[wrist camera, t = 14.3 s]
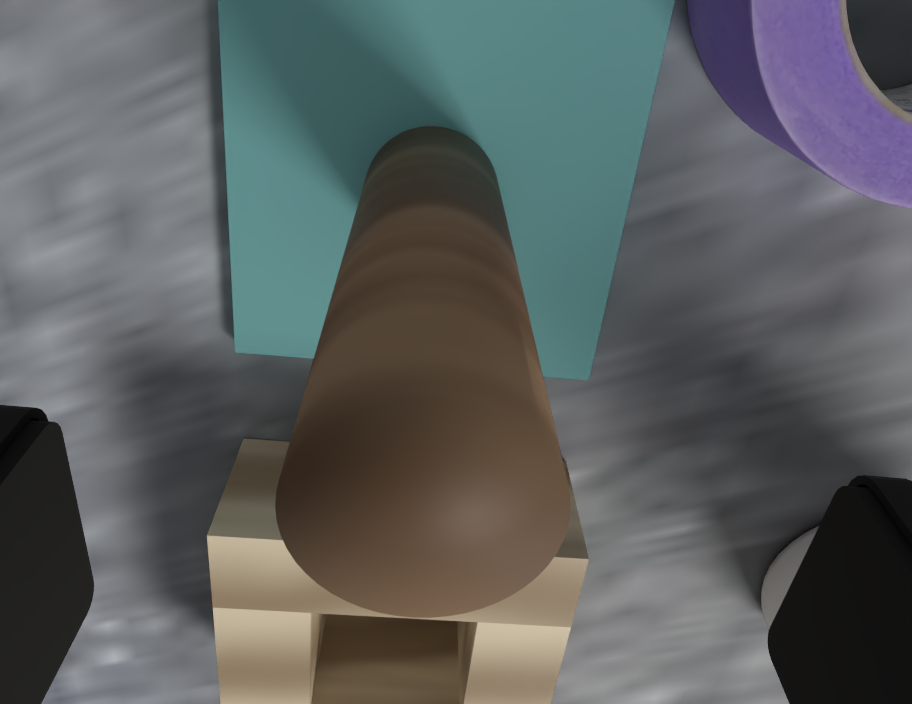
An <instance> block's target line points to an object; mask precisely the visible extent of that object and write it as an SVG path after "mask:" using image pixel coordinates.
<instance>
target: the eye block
mask: <svg viewBox="0 0 912 704" xmlns="http://www.w3.org/2000/svg"><path fill="white" fill-rule="evenodd" d="M289 443H290V442H286V441H272V440H258V439H243V441H242V444H241V446H240V449H239V452H238V454H237V457H236V460H235V462H234V465H233V468H232V470H231V473H230V476H229V478H228V481H227V484H226V486H225V489H224V491H223V494H222V497H221V499H220V502H219V505H218V507H217V510H216V513H215V515H214V518H213V521H212V523H211V526H210V528H209V531H208V534H207V544H208V556H209V568H210V580H211V592H212V604H213V616H214V629H215V641H216V653H217V665H218V677H219V689H220V701H221V704H551V701H552V697H553V694H554V690H555V686H556V682H557V678H558V675H559V671H560V667H561V663H562V659H563V656H564V652H565V648H566V644H567V640H568V637H569V633H570V629H571V625H572V621H573V618H574V614H575V610H576V606H577V603H578V599H579V595H580V591H581V587H582V584H583V580H584V576H585V572H586V568H587V565H588V561H589V557H588V553H587V549H586V545H585V540H584V536H583V532H582V528H581V523H580V519H579V515H578V511H577V507H576V502H575V498H574V494H573V490H572V485H571V481H570V477H569V473H568V468H567V464H566V461H563V464H564V469H565V473H566V477H567V481H568V487H569V492H570V502H571V512H570V519H569V526H568V529H567V532H566V535H565V538H564V540H563V542H562V544H561V546H560V548H559V550H558V552H557V554H556V555H555V557H554V558H553V559H552V561H551V562H550V564H549V565H548V566H547V567H546V568H545V569H544V570H543V571H542V573H541V574H540V575H539V576H538V577H537V578H535V579H534V580H533V581H532V582H530V583H529V584H528V585H527V586H526V587H524V588H523V589H521V590H520V591H518V592H516V593H515V594H513V595H512V596H510V597H508V598H506V599H504V600H502V601H500V602H498V603H495V604H493V605H490V606H488V607H485V608H482V609H479V610H475V611H472V612H468V613H464V614H458V615H453V616H446V617H433V618H412V617H402V616H394V615H389V614H384V613H378V612H375V611H372V610H368V609H365V608H362V607H359V606H357V605H354V604H352V603H349V602H347V601H345V600H343V599H341V598H339V597H337V596H335V595H333V594H332V593H330V592H329V591H327V590H326V589H324V588H323V587H321V586H320V585H318V584H317V583H316V582H315V581H314V580H313V579H311V578H310V577H309V576H308V575H307V574H306V573H305V572H304V571H303V570H302V569H301V568H300V566H299V565H298V564H297V563H296V562H295V560H294V559H293V557H292V556H291V554H290V553H289V551H288V550H287V548H286V546H285V544H284V542H283V539H282V537H281V535H280V531H279V528H278V524H277V520H276V510H275V501H276V490H277V486H278V482H279V478H280V474H281V471H282V467H283V464H284V460H285V457H286V453H287V450H288V446H289Z"/></svg>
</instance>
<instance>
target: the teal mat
mask: <svg viewBox="0 0 912 704" xmlns="http://www.w3.org/2000/svg"><path fill="white" fill-rule="evenodd" d="M674 3H675V0H218V17H219V37H220V57H221V78H222V98H223V118H224V139H225V159H226V179H227V200H228V220H229V240H230V261H231V281H232V301H233V322H234V342H235V353H248V354H261V355H273V356H286V357H299V358H312V359H314V356H315V352H316V349H317V345H318V342H319V338H320V335H321V331H322V328H323V324H324V321H325V317H326V314H327V311H328V307H329V304H330V300H331V297H332V293H333V290H334V286H335V283H336V279H337V276H338V272H339V269H340V265H341V262H342V258H343V255H344V251H345V248H346V244H347V241H348V237H349V234H350V231H351V227H352V224H353V220H354V217H355V213H356V210H357V206H358V203H359V199H360V196H361V192H362V189H363V185H364V182H365V178H366V175H367V171H368V169H369V166H370V164H371V162H372V160H373V158H374V157H375V155H376V154H377V152H378V151H379V150H380V149H381V148H382V147H383V146H384V145H385V144H386V143H387V142H388V141H389V140H391V139H392V138H393V137H395V136H397V135H398V134H400V133H402V132H404V131H407V130H410V129H413V128H418V127H425V126H438V127H444V128H449V129H452V130H455V131H457V132H460V133H462V134H464V135H465V136H467V137H469V138H470V139H472V140H473V141H474V142H475V143H476V144H478V145H479V146H480V147H481V149H482V150H483V151H484V152H485V153H486V155H487V156H488V158H489V159H490V161H491V163H492V165H493V167H494V170H495V173H496V176H497V180H498V184H499V189H500V193H501V197H502V202H503V206H504V210H505V215H506V219H507V223H508V228H509V232H510V236H511V240H512V245H513V249H514V253H515V258H516V262H517V266H518V271H519V275H520V279H521V283H522V288H523V292H524V296H525V301H526V305H527V309H528V314H529V318H530V322H531V327H532V331H533V335H534V339H535V344H536V348H537V352H538V357H539V361H540V365H541V370H542V374H543V377H553V378H566V379H578V380H589V378H590V373H591V369H592V365H593V360H594V356H595V351H596V347H597V342H598V338H599V334H600V329H601V325H602V320H603V316H604V312H605V307H606V303H607V298H608V294H609V290H610V285H611V281H612V276H613V272H614V268H615V263H616V259H617V254H618V250H619V245H620V241H621V237H622V232H623V228H624V223H625V219H626V215H627V210H628V206H629V201H630V197H631V193H632V188H633V184H634V179H635V175H636V171H637V166H638V162H639V157H640V153H641V148H642V144H643V140H644V135H645V131H646V126H647V122H648V118H649V113H650V109H651V104H652V100H653V96H654V91H655V87H656V82H657V78H658V74H659V69H660V65H661V60H662V56H663V51H664V47H665V43H666V38H667V34H668V29H669V25H670V21H671V16H672V12H673V7H674Z"/></svg>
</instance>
